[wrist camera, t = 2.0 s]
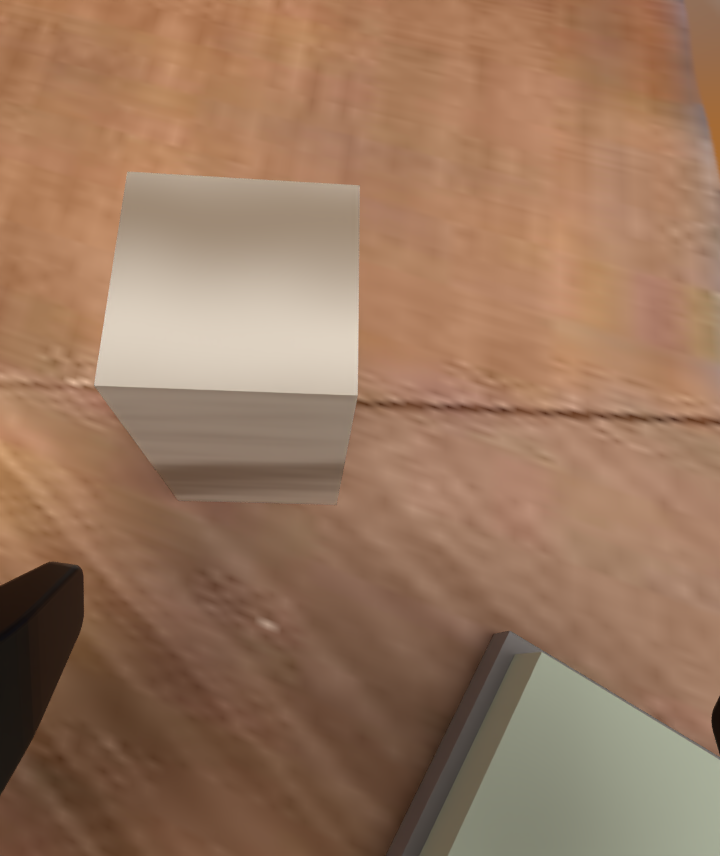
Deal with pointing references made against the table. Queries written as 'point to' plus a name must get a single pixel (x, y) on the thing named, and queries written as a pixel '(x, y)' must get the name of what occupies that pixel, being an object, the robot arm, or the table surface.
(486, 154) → the table surface
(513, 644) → the base tile
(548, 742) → the top tile
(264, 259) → the tall block
